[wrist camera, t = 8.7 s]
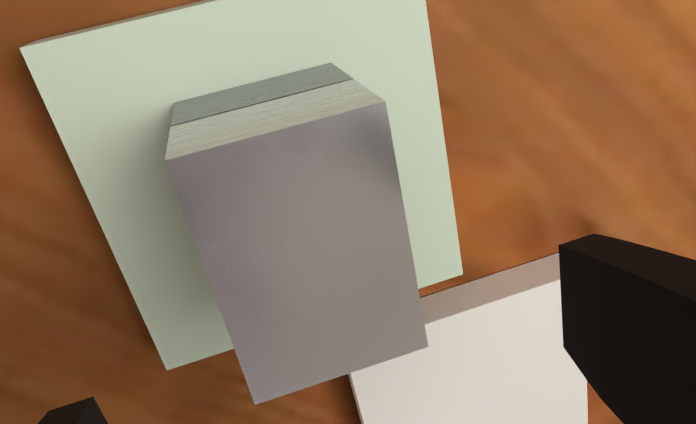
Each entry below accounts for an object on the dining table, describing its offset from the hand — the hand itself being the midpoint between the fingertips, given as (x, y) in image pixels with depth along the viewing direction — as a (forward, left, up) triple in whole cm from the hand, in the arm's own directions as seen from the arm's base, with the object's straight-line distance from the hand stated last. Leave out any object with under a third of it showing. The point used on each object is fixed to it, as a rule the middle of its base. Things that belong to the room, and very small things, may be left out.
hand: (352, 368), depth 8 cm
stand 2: (-11, -5, -10) cm, 16 cm away
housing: (0, 0, -8) cm, 8 cm away
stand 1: (0, 0, -10) cm, 10 cm away
